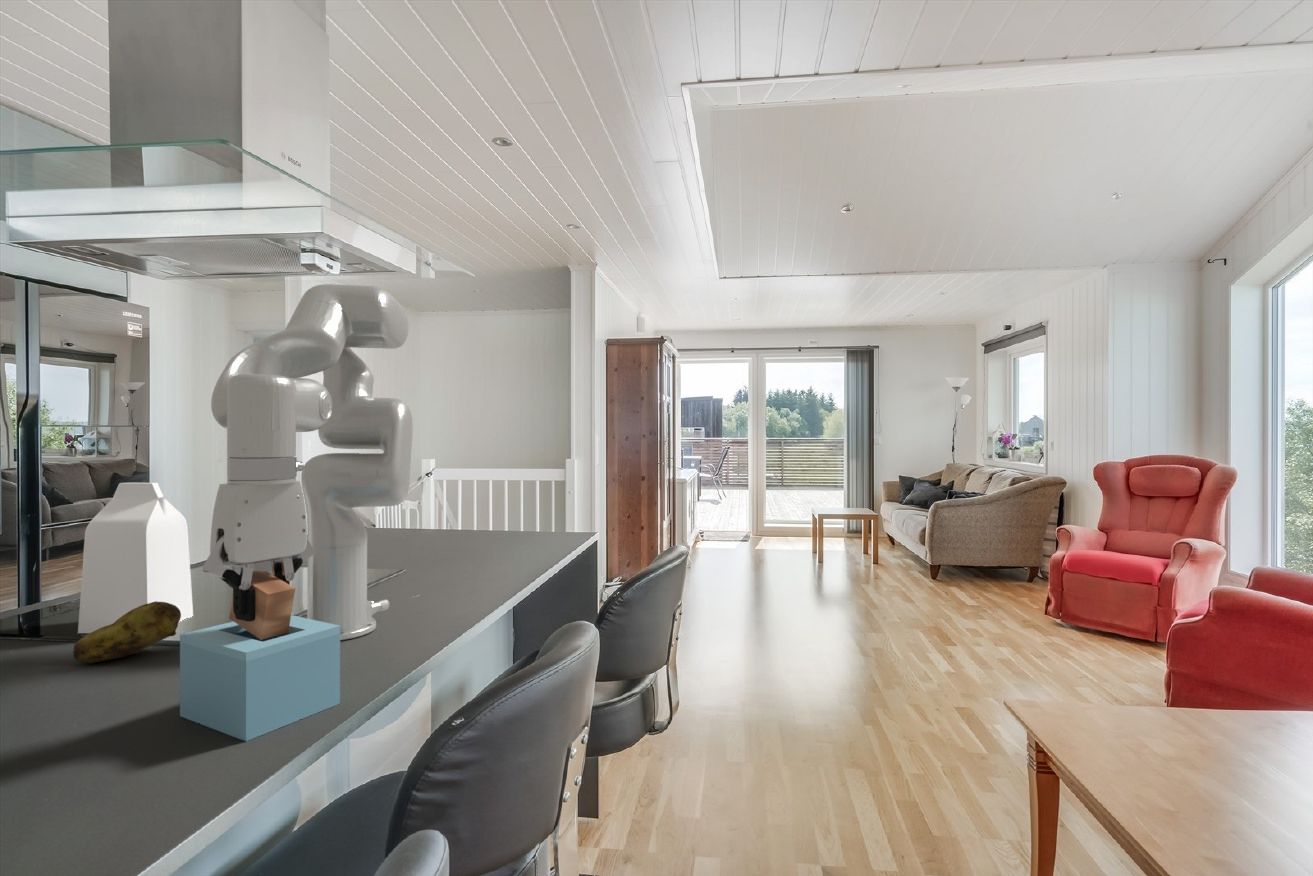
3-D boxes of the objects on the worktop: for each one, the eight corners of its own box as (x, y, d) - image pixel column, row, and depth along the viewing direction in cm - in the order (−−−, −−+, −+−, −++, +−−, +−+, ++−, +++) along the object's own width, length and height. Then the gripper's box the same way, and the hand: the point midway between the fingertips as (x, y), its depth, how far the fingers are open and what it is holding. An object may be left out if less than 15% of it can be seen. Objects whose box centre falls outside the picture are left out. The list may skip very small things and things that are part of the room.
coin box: (274, 683, 92) (274, 611, 92) (340, 703, 86) (340, 625, 86) (180, 716, 82) (180, 634, 82) (246, 741, 75) (246, 652, 75)
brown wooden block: (256, 611, 87) (263, 569, 86) (288, 632, 84) (295, 588, 83) (229, 618, 84) (235, 574, 83) (260, 640, 81) (268, 594, 80)
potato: (83, 655, 104) (83, 604, 104) (183, 642, 110) (183, 595, 110) (68, 672, 97) (69, 617, 96) (176, 657, 103) (176, 606, 103)
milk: (77, 635, 114) (77, 485, 114) (129, 616, 125) (129, 480, 125) (147, 635, 114) (148, 485, 114) (193, 616, 126) (193, 480, 126)
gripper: (305, 467, 93) (304, 597, 93) (173, 474, 78) (173, 628, 78) (339, 469, 89) (339, 604, 89) (209, 476, 74) (208, 637, 75)
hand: (262, 614), depth 84 cm, fingers closed on brown wooden block, 3 cm apart
